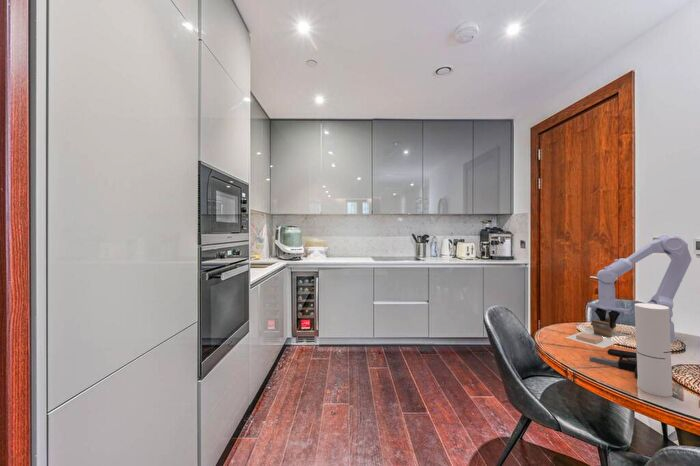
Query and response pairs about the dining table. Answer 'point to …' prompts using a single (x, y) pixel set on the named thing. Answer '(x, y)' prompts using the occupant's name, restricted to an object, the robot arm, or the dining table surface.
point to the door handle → (620, 363)
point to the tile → (589, 338)
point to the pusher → (602, 327)
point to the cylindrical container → (653, 349)
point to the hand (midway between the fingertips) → (608, 326)
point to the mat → (602, 344)
